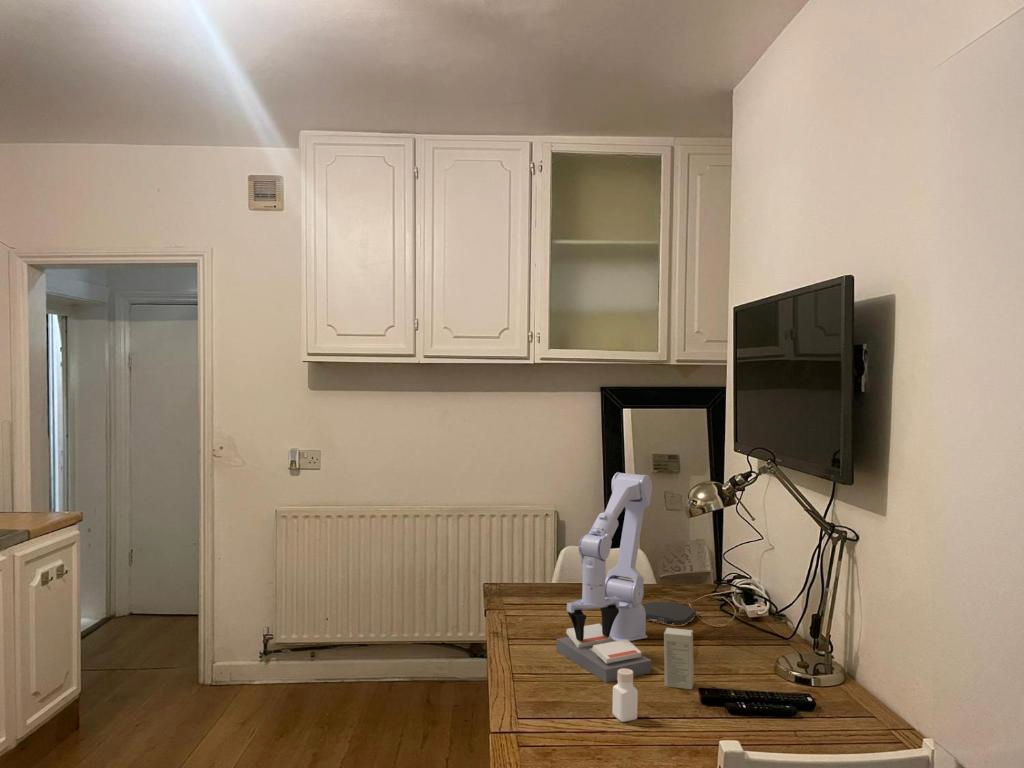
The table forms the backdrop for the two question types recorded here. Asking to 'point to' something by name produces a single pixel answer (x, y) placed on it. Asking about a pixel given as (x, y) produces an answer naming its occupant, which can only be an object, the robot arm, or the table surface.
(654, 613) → the media streaming box
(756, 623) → the table surface
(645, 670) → the rocker switch panel
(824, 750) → the table surface
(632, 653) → the rocker
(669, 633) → the skincare box
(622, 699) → the white pill bottle
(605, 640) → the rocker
